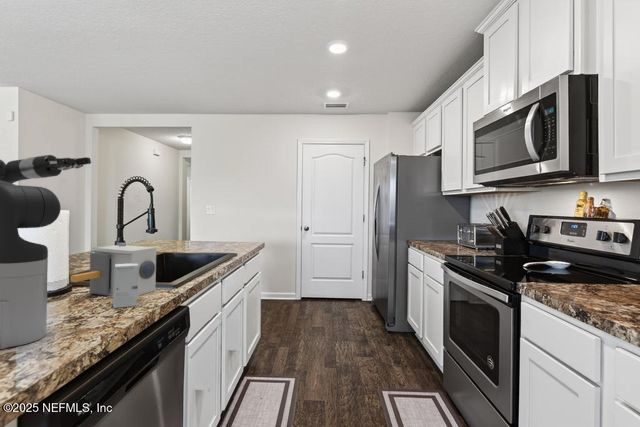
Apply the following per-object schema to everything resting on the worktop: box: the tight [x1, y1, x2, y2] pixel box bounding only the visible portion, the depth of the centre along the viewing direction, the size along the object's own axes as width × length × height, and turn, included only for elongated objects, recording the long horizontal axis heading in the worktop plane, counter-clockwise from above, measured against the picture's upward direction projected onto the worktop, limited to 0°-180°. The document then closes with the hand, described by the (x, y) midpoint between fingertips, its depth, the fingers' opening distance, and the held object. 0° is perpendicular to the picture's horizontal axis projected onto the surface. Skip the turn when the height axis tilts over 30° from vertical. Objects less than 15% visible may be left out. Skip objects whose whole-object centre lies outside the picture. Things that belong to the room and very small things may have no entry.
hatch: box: [69, 252, 110, 296], centre depth 101 cm, size 9×7×13 cm
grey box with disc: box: [91, 242, 157, 297], centre depth 109 cm, size 11×17×16 cm, turn 73°
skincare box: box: [112, 263, 139, 309], centre depth 95 cm, size 6×4×12 cm
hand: (89, 160), depth 114 cm, fingers closed
